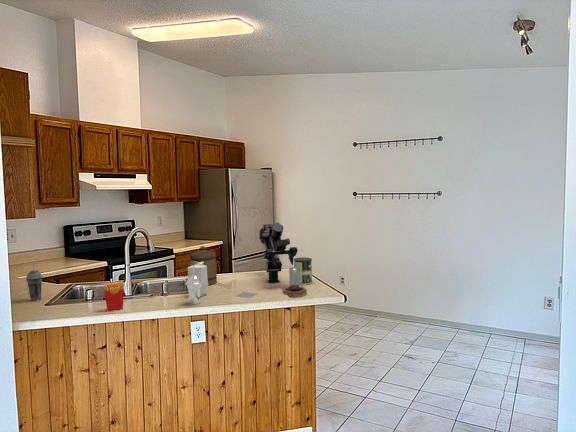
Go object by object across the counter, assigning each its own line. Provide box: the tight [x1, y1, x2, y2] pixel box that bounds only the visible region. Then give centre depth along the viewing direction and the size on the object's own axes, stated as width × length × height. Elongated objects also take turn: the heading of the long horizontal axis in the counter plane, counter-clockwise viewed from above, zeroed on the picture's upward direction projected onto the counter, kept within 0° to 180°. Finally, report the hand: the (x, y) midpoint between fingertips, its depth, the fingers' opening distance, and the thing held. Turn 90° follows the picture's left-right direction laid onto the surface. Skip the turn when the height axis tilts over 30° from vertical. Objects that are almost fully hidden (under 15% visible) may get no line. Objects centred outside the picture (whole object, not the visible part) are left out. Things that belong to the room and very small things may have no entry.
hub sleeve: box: [288, 267, 300, 292], centre depth 228 cm, size 7×7×13 cm
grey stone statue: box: [185, 262, 204, 305], centre depth 215 cm, size 8×9×20 cm
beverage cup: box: [25, 261, 43, 302], centre depth 224 cm, size 7×7×20 cm
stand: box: [234, 291, 259, 299], centre depth 225 cm, size 9×9×1 cm
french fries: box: [103, 280, 126, 312], centre depth 206 cm, size 9×4×13 cm, turn 109°
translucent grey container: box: [189, 245, 218, 287], centre depth 256 cm, size 15×15×22 cm
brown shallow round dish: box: [282, 286, 308, 298], centre depth 229 cm, size 13×13×3 cm
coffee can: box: [293, 256, 313, 286], centre depth 253 cm, size 10×10×14 cm
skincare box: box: [187, 265, 209, 298], centre depth 230 cm, size 8×7×16 cm
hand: (284, 265), depth 237 cm, fingers open, 9 cm apart
